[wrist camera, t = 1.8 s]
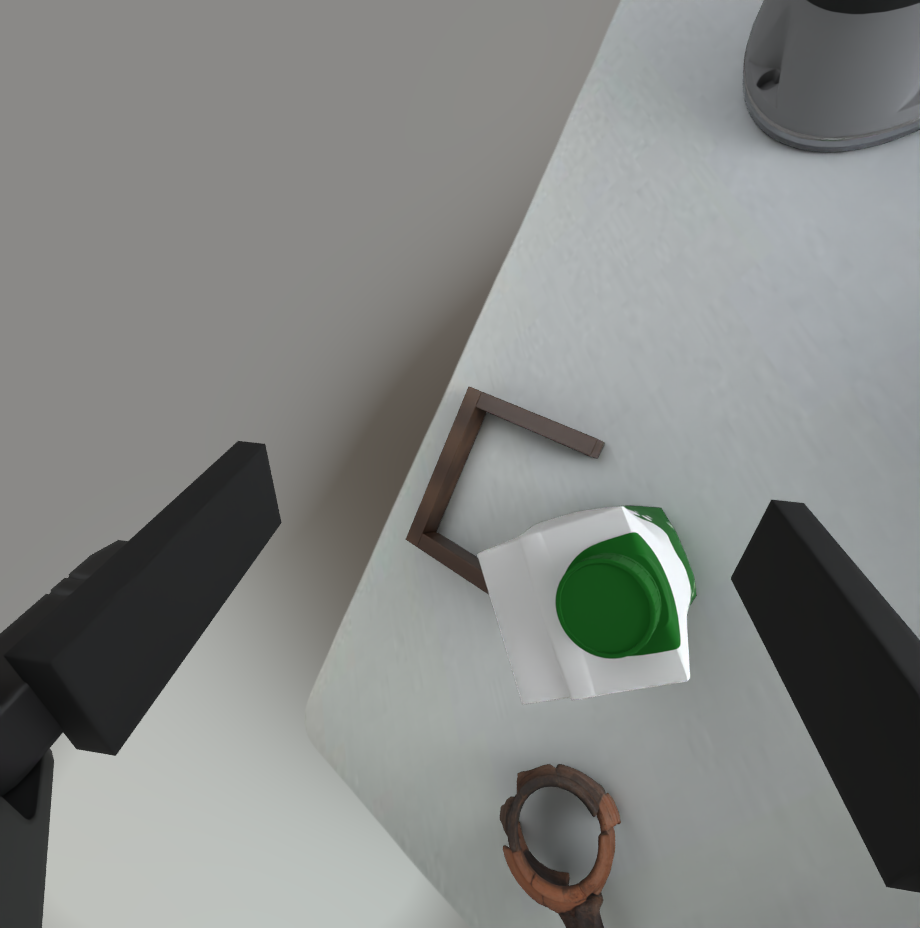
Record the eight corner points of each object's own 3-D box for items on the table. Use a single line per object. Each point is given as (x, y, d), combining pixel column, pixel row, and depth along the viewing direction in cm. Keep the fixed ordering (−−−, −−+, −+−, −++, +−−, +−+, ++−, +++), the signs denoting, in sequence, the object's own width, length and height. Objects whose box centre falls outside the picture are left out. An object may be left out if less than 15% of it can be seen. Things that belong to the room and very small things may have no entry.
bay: (480, 391, 45) (468, 386, 42) (605, 442, 38) (598, 439, 36) (419, 537, 47) (405, 539, 45) (528, 607, 41) (517, 613, 39)
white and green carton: (714, 604, 34) (710, 716, 16) (597, 629, 38) (494, 741, 20) (668, 492, 36) (620, 485, 18) (561, 527, 40) (439, 548, 22)
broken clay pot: (491, 789, 42) (473, 795, 35) (583, 740, 42) (582, 737, 35) (558, 967, 35) (551, 1018, 28) (667, 908, 35) (686, 944, 28)
